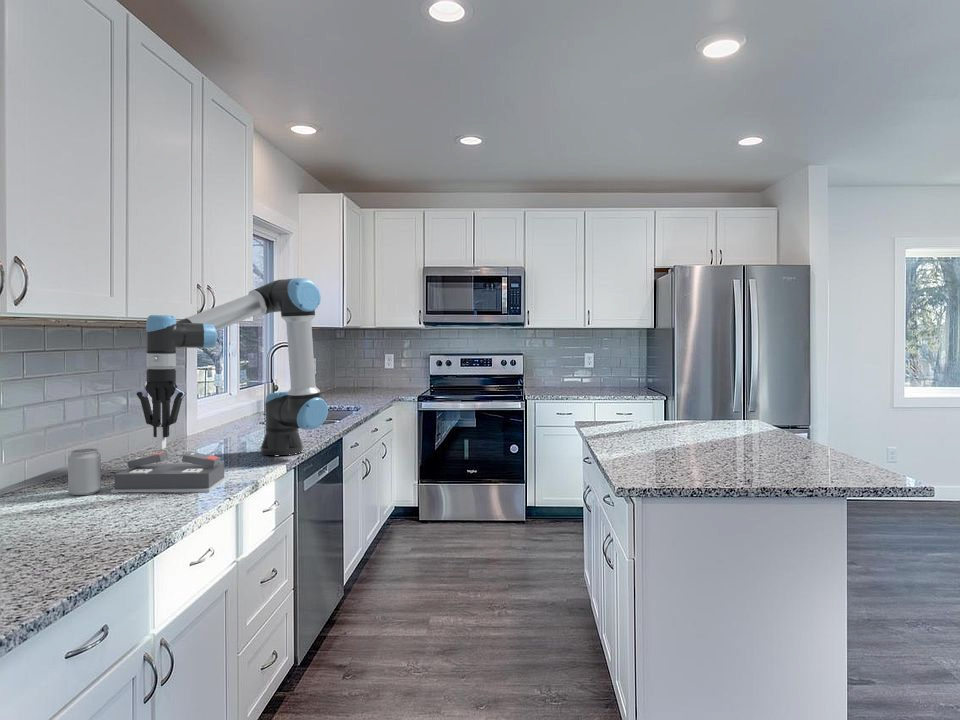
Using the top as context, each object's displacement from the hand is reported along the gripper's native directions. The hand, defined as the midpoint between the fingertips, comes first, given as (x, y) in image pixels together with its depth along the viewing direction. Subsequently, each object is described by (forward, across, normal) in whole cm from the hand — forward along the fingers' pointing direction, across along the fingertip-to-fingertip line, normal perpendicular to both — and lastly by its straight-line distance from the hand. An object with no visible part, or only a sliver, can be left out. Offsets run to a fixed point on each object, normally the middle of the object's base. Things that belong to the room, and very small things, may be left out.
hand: (161, 448), depth 168 cm
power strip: (+11, +4, -2) cm, 11 cm away
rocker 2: (+4, +11, 0) cm, 12 cm away
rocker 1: (+4, -3, 0) cm, 6 cm away
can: (+11, -16, -9) cm, 21 cm away
